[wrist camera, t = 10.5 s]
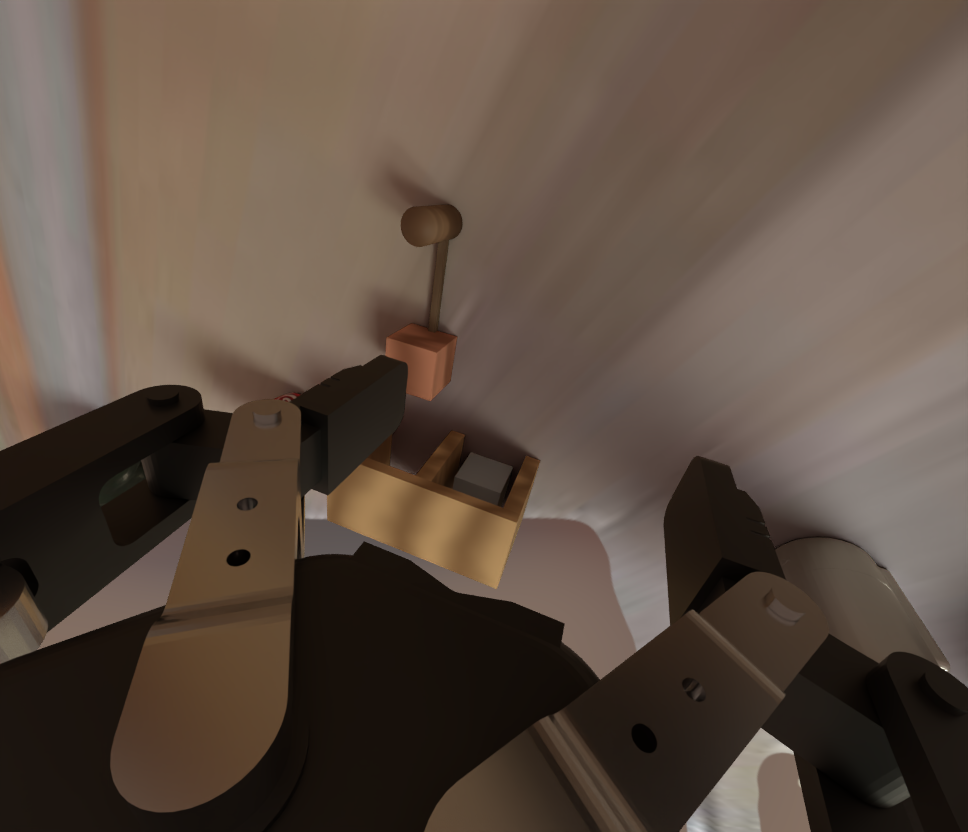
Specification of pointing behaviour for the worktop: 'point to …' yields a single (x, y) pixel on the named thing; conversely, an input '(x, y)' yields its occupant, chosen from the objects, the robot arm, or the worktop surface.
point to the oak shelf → (433, 511)
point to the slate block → (483, 479)
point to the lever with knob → (418, 344)
